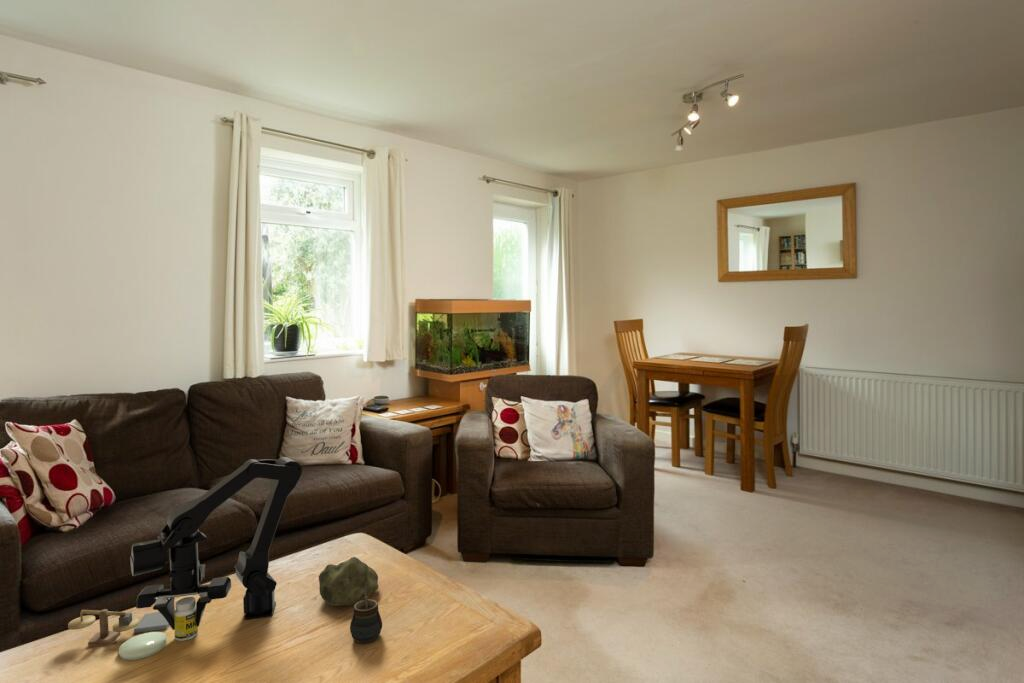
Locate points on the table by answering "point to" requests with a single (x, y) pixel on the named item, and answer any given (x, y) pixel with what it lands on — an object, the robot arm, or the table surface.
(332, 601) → the decorative rock
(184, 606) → the supplement bottle
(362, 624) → the mate gourd
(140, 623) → the slate coaster
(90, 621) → the balance
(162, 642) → the sage dish
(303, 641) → the table surface
